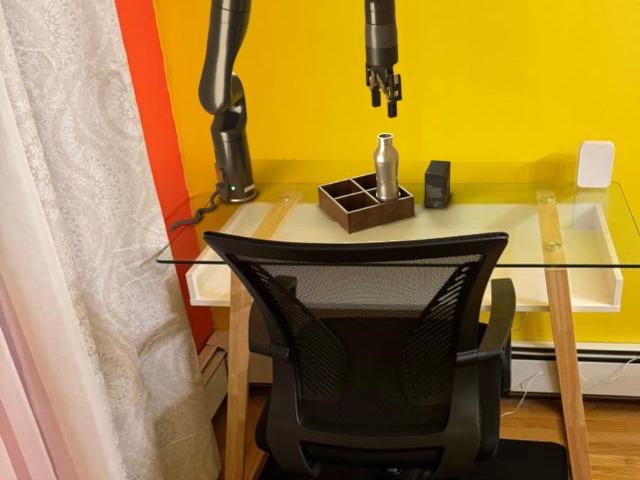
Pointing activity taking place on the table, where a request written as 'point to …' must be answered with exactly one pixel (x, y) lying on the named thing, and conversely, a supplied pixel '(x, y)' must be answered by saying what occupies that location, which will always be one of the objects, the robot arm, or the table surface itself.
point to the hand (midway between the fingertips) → (384, 111)
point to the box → (437, 184)
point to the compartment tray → (362, 203)
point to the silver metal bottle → (386, 169)
